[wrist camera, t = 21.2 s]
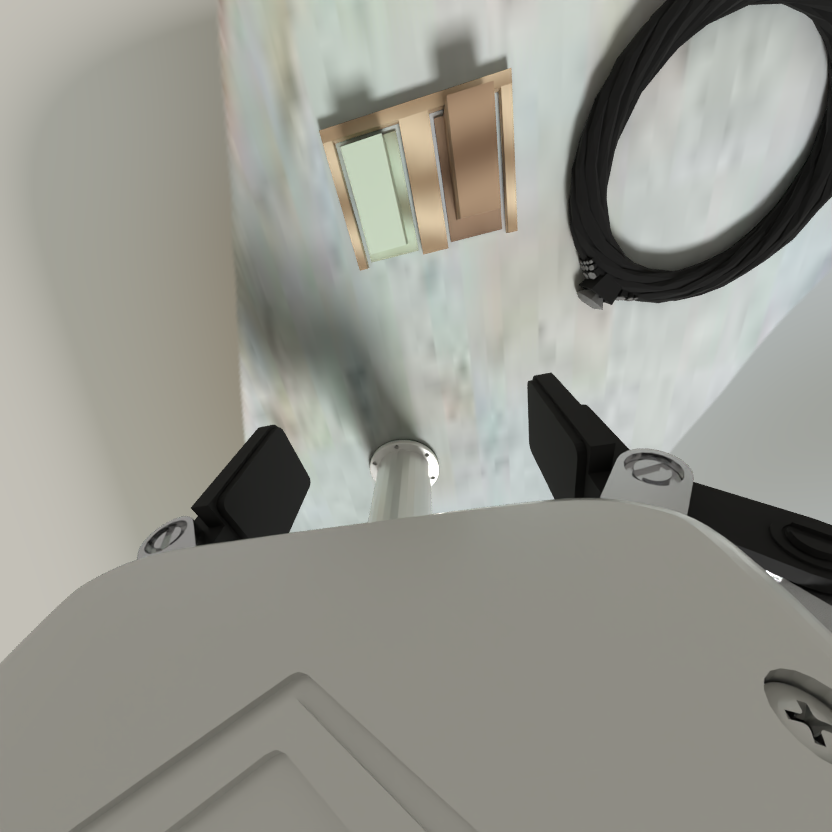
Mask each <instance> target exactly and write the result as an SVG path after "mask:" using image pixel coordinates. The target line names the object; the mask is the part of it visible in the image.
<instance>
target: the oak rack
mask: <svg viewBox="0 0 832 832" xmlns="http://www.w3.org/2000/svg"><path fill="white" fill-rule="evenodd" d="M491 81H494V93H496V92H498V95H499V113H500V131H501V149H502V167H503V186H504V204H505V222H506V233H510V232H514V231H517V205H516V179H515V152H514V126H513V99H512V73H511V68H509V69H506V70H503V71H500V72H497V73H494V74H491V75H488V76H485V77H482V78H479V79H476V80H473V81H469V82H466V83H463V84H460V85H457V86H454V87H451V88H448V89H445V90H442V91H439V92H436V93H433V94H430V95H427V96H424V97H421V98H418V99H414V100H411V101H408V102H405V103H402V104H399V105H396V106H393V107H390V108H387V109H384V110H381V111H378V112H375V113H372V114H369V115H366V116H362V117H359V118H356V119H353V120H350V121H347V122H344V123H341V124H338V125H335V126H332V127H329V128H326V129H323V130H320V131H319V132H320V136H321V139H322V142H323V146H324V149H325V153H326V156H327V160H328V163H329V166H330V170H331V173H332V177H333V180H334V183H335V187H336V190H337V194H338V197H339V201H340V204H341V207H342V211H343V214H344V218H345V221H346V225H347V228H348V231H349V235H350V238H351V242H352V245H353V248H354V252H355V255H356V259H357V262H358V266H359V269H360V270H364V269H368V268H369V265H368V261H367V258H366V254H365V251H364V247H363V243H362V240H361V236H360V232H359V229H358V225H357V222H356V218H355V214H354V211H353V207H352V203H351V200H350V196H349V193H348V189H347V185H346V182H345V178H344V174H343V171H342V167H341V164H340V160H339V156H338V153H337V149H336V146H335V144H336V143H339V142H342V141H345V140H348V139H351V138H355V137H358V136H361V135H364V134H367V133H370V132H373V131H377V130H380V129H383V128H386V127H389V126H392V125H395V124H399V125H400V131H401V136H402V141H403V147H404V152H405V158H406V163H407V168H408V174H409V179H410V184H411V190H412V195H413V201H414V206H415V211H416V217H417V222H418V227H419V233H420V238H421V244H422V249H423V254H427V253H431V252H435V251H439V250H443V249H447V248H448V242H447V235H446V229H445V222H444V215H443V208H442V201H441V194H440V187H439V181H438V174H437V167H436V160H435V153H434V146H433V139H432V132H431V126H430V119H429V114H430V113H433V112H436V111H439V110H442V109H444V108H445V102H446V96H447V95H450V94H453V93H456V92H459V91H462V90H465V89H469V88H472V87H475V86H478V85H481V84H484V83H487V82H491ZM434 124H435V131H436V138H437V145H438V152H439V159H440V167H441V174H442V181H443V188H444V195H445V202H446V209H447V217H448V224H449V231H450V238H451V242H453V241H457V240H461V239H465V238H469V237H473V236H477V235H480V234H484V233H488V232H492V231H496V230H500V229H502V222H501V208H499V209H496V210H493V211H489V212H485V213H482V214H478V215H474V216H470V217H466V218H462V219H459V220H456V213H455V205H454V197H453V189H452V181H451V173H450V165H449V157H448V149H447V141H446V133H445V125H444V117H443V116H441V117H437V118H434ZM382 136H383V138H384V140H385V143H386V145H387V148H388V153H389V157H390V162H391V167H392V171H393V176H394V180H395V185H396V189H397V194H398V198H399V203H400V208H401V212H402V217H403V221H404V226H405V230H406V235H407V240H408V244H407V245H404V246H400V247H396V248H393V249H389V250H386V251H382V252H378V253H375V254H371V255H370V251H369V248H368V251H369V255H370V258H371V262H375V261H379V260H383V259H387V258H391V257H395V256H399V255H402V254H406V253H410V252H414V251H418V250H419V249H418V244H417V239H416V234H415V229H414V223H413V218H412V213H411V208H410V203H409V197H408V192H407V187H406V182H405V177H404V171H403V166H402V161H401V156H400V151H399V145H398V140H397V135H396V131H393V132H390V133H387V134H383V135H382ZM349 181H350V180H349ZM352 192H353V191H352ZM354 199H355V198H354ZM355 203H356V202H355ZM356 207H357V205H356ZM357 210H358V209H357ZM358 214H359V212H358ZM359 218H360V216H359ZM360 221H361V219H360ZM361 225H362V223H361ZM362 229H363V226H362ZM363 232H364V230H363ZM364 236H365V234H364ZM365 240H366V237H365ZM366 244H367V241H366ZM367 247H368V244H367Z"/></svg>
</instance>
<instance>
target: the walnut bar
mask: <svg viewBox="0 0 832 832" xmlns="http://www.w3.org/2000/svg"><path fill="white" fill-rule="evenodd" d="M443 117H444V125H445V133H446V141H447V149H448V157H449V165H450V173H451V181H452V189H453V197H454V205H455V213H456V220H459V219H462V218H466V217H470V216H474V215H478V214H482V213H485V212H489V211H493V210H496V209H499V208H501V201H500V184H499V166H498V149H497V132H496V114H495V97H494V81H491V82H487V83H484V84H481V85H478V86H475V87H472V88H469V89H465V90H462V91H459V92H456V93H453V94H450V95H447V96H446V102H445V108H444V114H443Z"/></svg>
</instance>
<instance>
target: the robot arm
mask: <svg viewBox="0 0 832 832" xmlns="http://www.w3.org/2000/svg"><path fill="white" fill-rule="evenodd" d="M528 419H529V445H530V449H531V452H532V454H533V456H534V458H535V460H536V462H537V464H538V466H539V468H540V470H541V472H542V474H543V476H544V478H545V480H546V482H547V484H548V487H549V489H550V491H551V493H552V495H553V497H554V499H555V500H544V501H534V502H524V503H514V504H507V505H499V506H491V507H483V508H475V509H467V510H460V511H452V512H444V513H436V514H432V501H431V486H432V485H433V484H434V483H435V481H436V480H437V477H438V475H439V463H438V459H437V457H436V455H435V454H434V453H433V452H432V450H430V449H429V448H428V447H427V446H425V445H423V444H421V443H418V442H416V441H411V440H396V441H392V442H388V443H386V444H384V445H382V446H381V447H380V448H378V449H377V450H376V452H375V453H374V454H373V456H372V459H371V463H370V473H371V475H372V478H373V479H374V481H375V487H374V492H373V498H372V503H371V508H370V513H369V518H368V523H360V524H353V525H345V526H338V527H330V528H323V529H315V530H308V531H300V532H293V533H289V532H290V529H291V527H292V525H293V523H294V520H295V518H296V516H297V514H298V511H299V509H300V507H301V505H302V503H303V500H304V498H305V496H306V494H307V491H308V489H309V487H310V478H309V476H308V474H307V472H306V470H305V469H304V467H303V465H302V463H301V461H300V460H299V458H298V456H297V454H296V452H295V451H294V449H293V447H292V445H291V443H290V442H289V440H288V438H287V436H286V435H285V433H284V431H283V430H282V429H281V428H278V427H277V426H276V425H270V426H265V427H259V428H258V429H257V430H256V431H255V432H254V434H253V435H252V436H251V437H250V438H249V440H248V441H247V442H246V443H245V444H244V445H243V447H242V448H241V449H240V450H239V451H238V453H237V454H236V455H235V456H234V457H233V458H232V460H231V461H230V462H229V463H228V465H227V466H226V467H225V468H224V469H223V470H222V472H221V473H220V474H219V475H218V477H216V479H215V480H214V481H213V483H211V485H210V486H209V487H208V488H207V489H206V491H205V492H204V493H203V494H202V495H201V497H200V498H199V499H198V500H197V501H196V502H195V504H194V505H193V506H192V507H191V509H192V510H193V511H194V512H195V513H196V514H197V515H198V517H197V518H196V519H195V520H193V519H192V518H191V517H188V516H182V517H179V518H176V519H173V520H171V521H169V522H167V523H166V524H164V525H162V526H161V527H159V528H158V529H156V530H155V531H154V532H153V533H152V534H150V535H149V537H147V539H146V540H145V541H144V542H143V543H142V545H141V546H140V548H139V551H138V556H137V560H135V561H132V562H129V563H126V564H124V565H121V566H119V567H117V568H115V569H112V570H110V571H108V572H106V573H104V574H102V575H100V576H98V577H96V578H95V579H93V580H91V581H89V582H87V583H86V584H84V585H83V586H81V587H80V588H78V589H77V590H76V591H74V592H73V593H72V594H71V595H70V596H69V597H67V598H66V599H65V600H64V601H63V602H62V603H61V604H60V605H59V606H58V607H57V608H56V609H55V610H54V611H52V612H51V614H49V615H48V616H47V617H46V618H45V619H44V620H43V621H42V622H41V623H40V624H39V625H38V626H37V627H36V628H35V629H34V630H33V631H32V632H31V633H30V634H29V635H28V636H27V637H26V638H25V639H24V640H23V641H22V642H21V643H20V644H19V645H18V646H17V647H16V648H15V649H14V650H13V651H12V652H11V653H10V654H9V655H8V656H7V657H6V658H5V659H4V660H3V661H2V662H1V663H0V832H832V525H830V524H827V523H824V522H821V521H819V520H816V519H813V518H810V517H807V516H804V515H800V514H797V513H794V512H790V511H787V510H784V509H781V508H777V507H774V506H771V505H767V504H764V503H761V502H758V501H754V500H751V499H748V498H744V497H741V496H738V495H735V494H731V493H728V492H725V491H722V490H718V489H715V488H712V487H708V486H705V485H701V484H699V483H695V482H693V480H694V477H693V472H692V470H691V468H690V467H689V466H688V465H687V464H686V463H685V462H684V461H682V460H681V459H679V458H677V457H675V456H673V455H671V454H669V453H666V452H662V451H659V450H653V449H633V450H629V449H628V448H627V447H626V446H625V445H624V443H623V442H622V441H621V440H620V439H619V438H618V437H617V436H616V435H615V434H614V433H613V432H612V431H611V430H610V429H609V428H608V427H607V426H606V424H605V423H604V422H603V421H602V420H601V419H600V418H599V417H598V416H597V415H596V414H595V413H594V412H593V411H592V410H591V409H590V408H589V407H588V406H587V405H581V404H580V403H579V402H578V401H577V400H576V399H575V398H574V397H573V395H572V394H571V393H570V392H569V391H568V390H567V389H566V388H565V387H564V386H563V385H562V383H561V382H560V381H559V380H558V379H557V378H556V377H555V376H554V375H553V374H552V373H546V374H541V375H536V376H534V377H533V380H531V381H528Z"/></svg>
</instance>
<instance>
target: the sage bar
mask: <svg viewBox="0 0 832 832" xmlns="http://www.w3.org/2000/svg"><path fill="white" fill-rule="evenodd" d="M340 149H341V152H342V156H343V159H344V163H345V166H346V170H347V173H348V177H349V180H350V184H351V188H352V191H353V195H354V198H355V202H356V205H357V209H358V212H359V216H360V219H361V223H362V226H363V230H364V234H365V237H366V241H367V244H368V248H369V251H370V255H371V254H375V253H378V252H382V251H386V250H389V249H393V248H396V247H400V246H404V245H407V244H408V240H407V235H406V230H405V226H404V221H403V217H402V212H401V208H400V203H399V198H398V194H397V189H396V185H395V180H394V176H393V171H392V167H391V162H390V157H389V153H388V148H387V145H386V143H385V140H384V138H383V136H382V133H380V134H377V135H374V136H371V137H368V138H365V139H363V140H360V141H357V142H354V143H351V144H348V145H345V146H342V147H340Z"/></svg>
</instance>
